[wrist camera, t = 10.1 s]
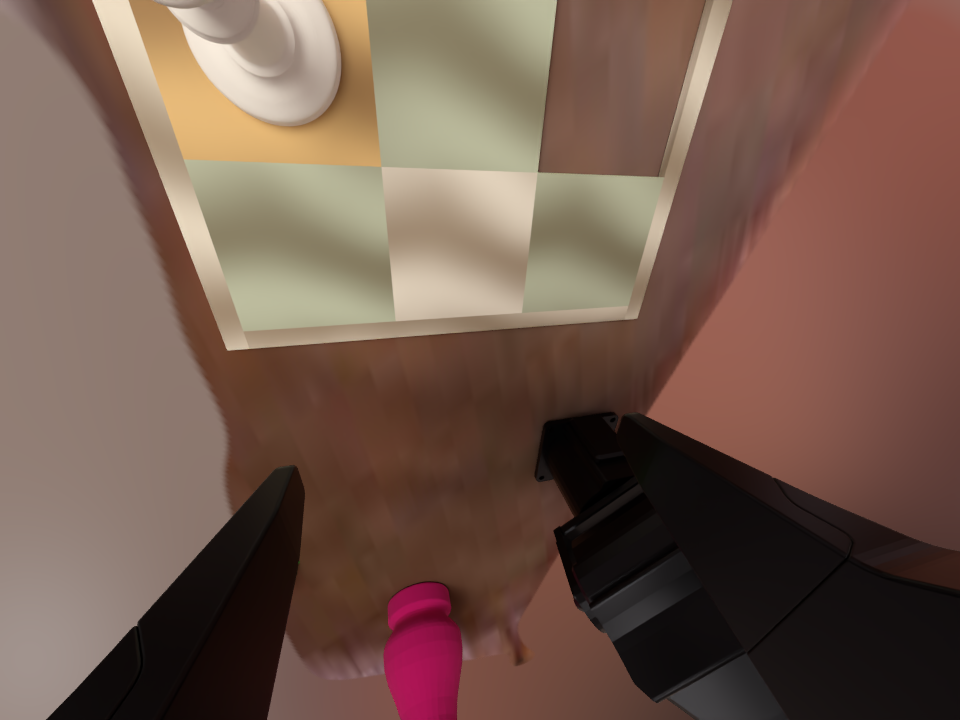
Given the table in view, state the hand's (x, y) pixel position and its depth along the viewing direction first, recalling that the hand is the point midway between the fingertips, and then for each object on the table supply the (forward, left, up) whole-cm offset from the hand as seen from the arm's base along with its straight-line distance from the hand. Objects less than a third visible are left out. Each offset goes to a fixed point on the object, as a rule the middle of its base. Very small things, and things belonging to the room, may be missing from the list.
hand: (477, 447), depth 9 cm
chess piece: (+10, +5, -12) cm, 16 cm away
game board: (+6, -2, -12) cm, 14 cm away
